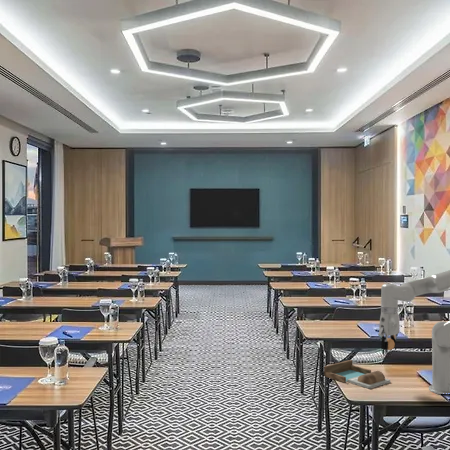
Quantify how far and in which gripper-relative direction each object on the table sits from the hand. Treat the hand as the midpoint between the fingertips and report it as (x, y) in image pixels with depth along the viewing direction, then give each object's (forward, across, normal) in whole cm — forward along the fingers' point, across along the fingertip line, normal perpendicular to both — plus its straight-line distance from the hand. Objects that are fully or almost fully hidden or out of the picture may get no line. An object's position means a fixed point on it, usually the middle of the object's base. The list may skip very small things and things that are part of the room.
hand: (388, 348), depth 239 cm
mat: (+18, -3, +21) cm, 28 cm away
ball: (+1, 0, 0) cm, 1 cm away
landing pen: (+18, -3, +22) cm, 28 cm away
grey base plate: (+18, -3, +9) cm, 20 cm away
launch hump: (+20, -3, +7) cm, 22 cm away
